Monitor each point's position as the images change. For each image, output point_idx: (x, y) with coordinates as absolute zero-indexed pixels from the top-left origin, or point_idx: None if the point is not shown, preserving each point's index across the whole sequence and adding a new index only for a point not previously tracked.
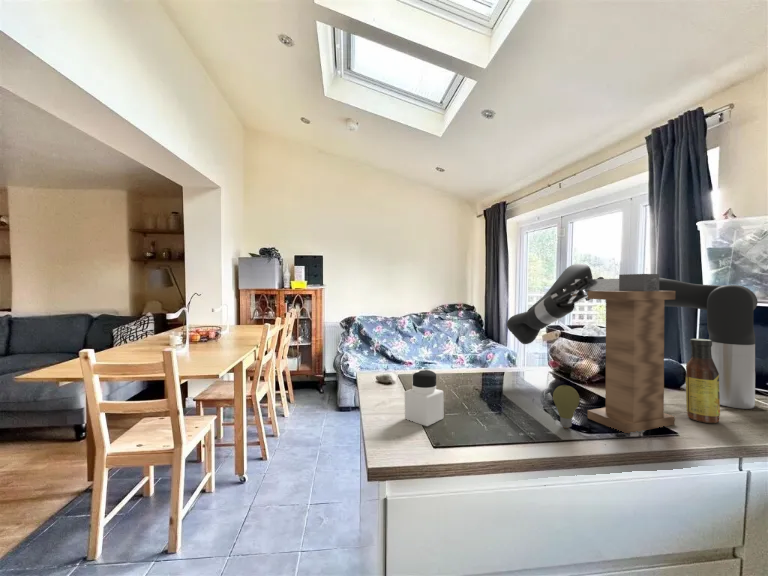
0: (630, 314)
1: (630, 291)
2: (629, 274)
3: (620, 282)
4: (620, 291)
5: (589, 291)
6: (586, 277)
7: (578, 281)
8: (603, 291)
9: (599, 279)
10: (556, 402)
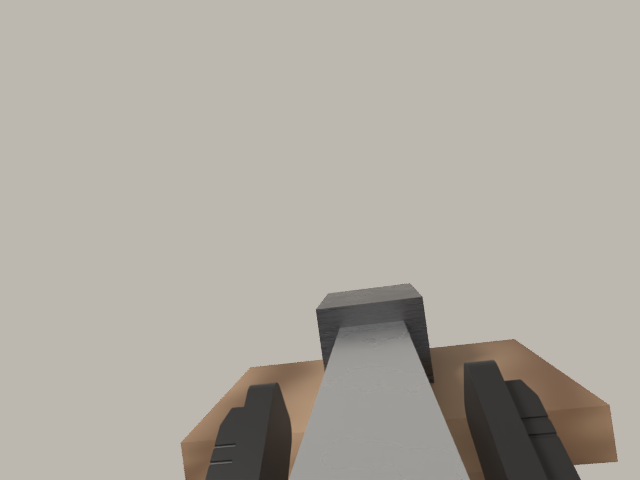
0: None
1: (479, 346)
2: (416, 290)
3: (426, 336)
4: (518, 346)
5: (603, 404)
6: (486, 363)
7: (553, 437)
8: (557, 369)
9: (420, 361)
10: None
